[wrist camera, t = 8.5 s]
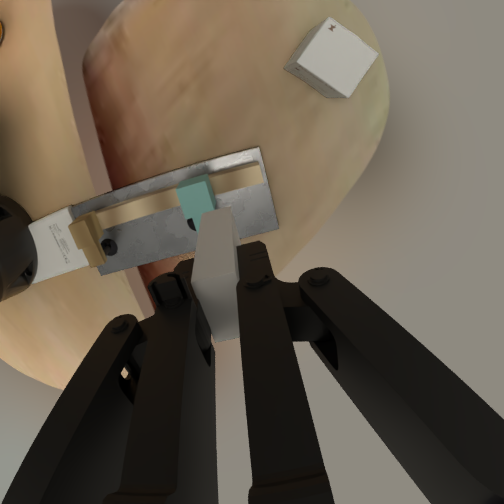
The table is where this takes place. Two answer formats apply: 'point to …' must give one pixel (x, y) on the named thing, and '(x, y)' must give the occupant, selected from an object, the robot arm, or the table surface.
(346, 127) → the table surface
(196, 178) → the block
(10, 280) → the robot arm
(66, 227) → the external hard drive
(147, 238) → the bolt plate
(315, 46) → the product box
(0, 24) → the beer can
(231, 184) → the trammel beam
